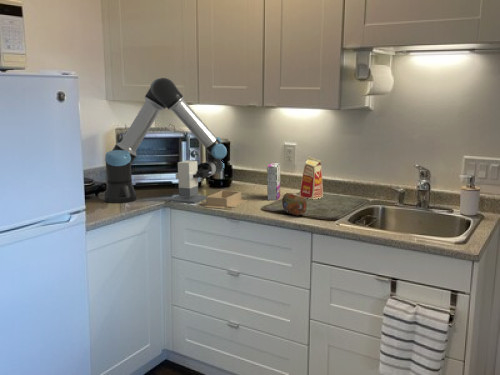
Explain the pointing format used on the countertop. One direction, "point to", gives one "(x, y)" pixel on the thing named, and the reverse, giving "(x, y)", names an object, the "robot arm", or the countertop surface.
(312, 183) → the milk carton
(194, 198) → the board
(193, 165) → the box
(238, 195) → the carton
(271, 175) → the candy bar box
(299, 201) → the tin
